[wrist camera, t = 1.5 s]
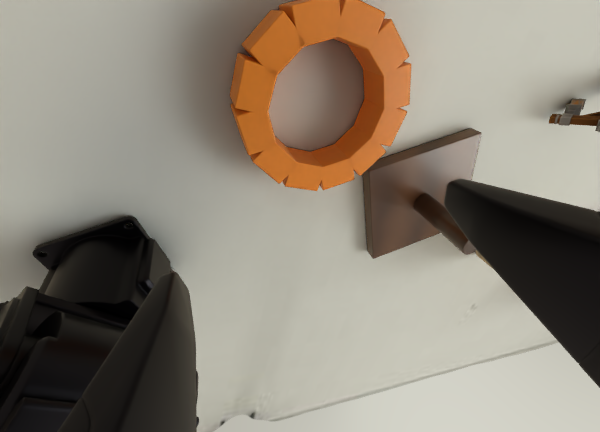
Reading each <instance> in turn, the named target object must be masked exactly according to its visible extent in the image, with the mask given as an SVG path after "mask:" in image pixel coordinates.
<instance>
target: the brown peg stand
mask: <svg viewBox="0 0 600 432" xmlns="http://www.w3.org/2000/svg"><path fill="white" fill-rule="evenodd" d="M480 138H481V132H479V131H476V130H474V129H472V128H470V129H467V130H464V131H461V132H458V133H455V134H452V135H449V136H446V137H443V138H440V139H437V140H435V141H432V142H429V143H426V144H423V145H420V146H417V147H414V148H411V149H408V150H405V151H402V152H399V153H396V154H393V155H390V156H387V157H384V158H382V159H379V160H377V161H376V162H375V163H374V164H373V165H372V166H370V167H369V168H368V169H367V170H366V171H365V172H364V173H363V186H364V201H365V217H366V233H367V249H368V252H369V254H370V255H371V256H372V258H373V259H374V258H377V257H379V256H382V255H384V254H387V253H390V252H392V251H395V250H397V249H400V248H403V247H405V246H408V245H410V244H413V243H416V242H418V241H421V240H423V239H426V238H429V237H431V236H434V235H436V234H439V233H442V234H443V235H444V236H445V237H446V238H447V239H448V240H449V241H450V242H452V243H453V244H454V245H455V246H456V247H457V248H458V249H459V250H460V251H461V252H463V253H464V254H470V253H473V252H474V251H476V249H475V247H474V246H473V245H472V244H471V243H470V241H469V240H468V239H467V237H466V236H465V235H464V233H463V232H462V231H461V229H460V228H459V226H458V225H457V224H456V222H455V221H454V219H453V218H452V217H451V215H450V214H449V212H448V211H447V210H446V208H445V205H444V198H445V193H446V187H447V184H448V183H449V182H451V181H453V180H457V179H466V180H470V181H471V180H472V176H473V171H474V166H475V161H476V157H477V152H478V147H479V143H480Z"/></svg>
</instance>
